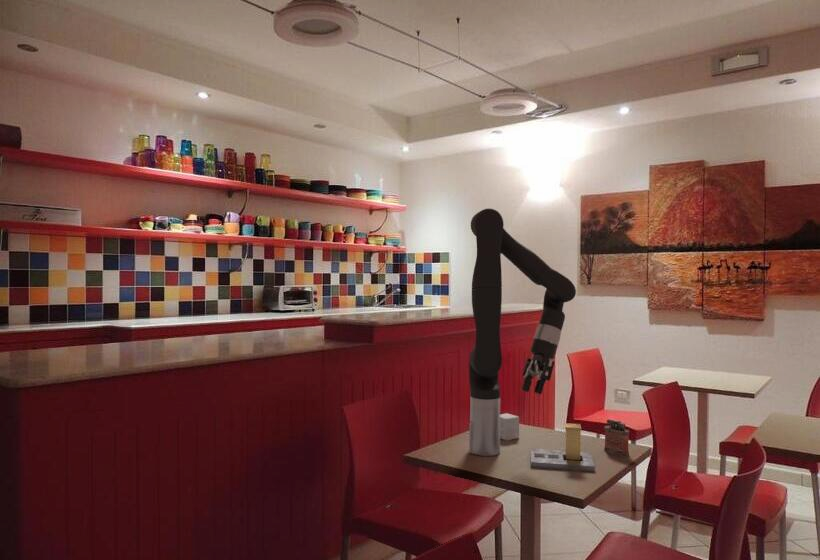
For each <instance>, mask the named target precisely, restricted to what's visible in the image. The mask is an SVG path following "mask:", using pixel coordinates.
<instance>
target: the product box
mask: <svg viewBox="0 0 820 560" xmlns="http://www.w3.org/2000/svg"><path fill="white" fill-rule="evenodd" d="M519 438H520V417H519V416H518V415H514V414H510V413H502V414H501V413H500V440H501V439H502V440H504V441H511V440H516V439H519Z"/></svg>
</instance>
